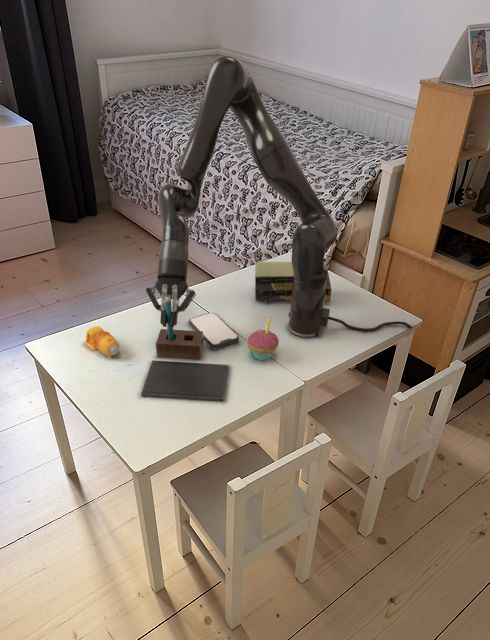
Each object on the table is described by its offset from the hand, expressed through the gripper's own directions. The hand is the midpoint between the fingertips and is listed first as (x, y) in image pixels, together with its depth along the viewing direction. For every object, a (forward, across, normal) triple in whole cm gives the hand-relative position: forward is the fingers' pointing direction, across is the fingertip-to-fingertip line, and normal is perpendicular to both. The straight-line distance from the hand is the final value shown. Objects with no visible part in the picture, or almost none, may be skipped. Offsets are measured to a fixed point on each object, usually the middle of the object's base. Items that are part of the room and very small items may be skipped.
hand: (168, 326), depth 140 cm
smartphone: (-2, -10, -15) cm, 18 cm away
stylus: (+4, 0, -7) cm, 8 cm away
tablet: (+14, -6, +1) cm, 15 cm away
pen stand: (+5, -2, -8) cm, 10 cm away
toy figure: (+6, +18, -7) cm, 20 cm away
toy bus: (-18, -32, -31) cm, 48 cm away
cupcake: (+5, -25, -8) cm, 27 cm away
